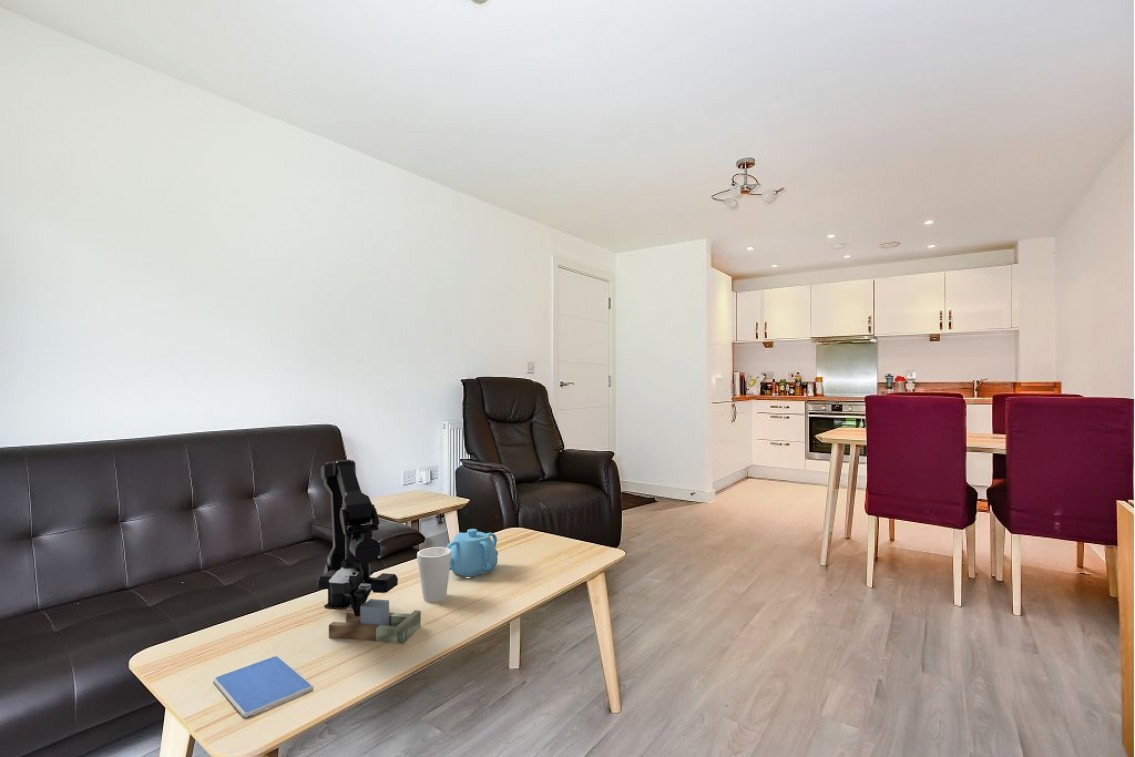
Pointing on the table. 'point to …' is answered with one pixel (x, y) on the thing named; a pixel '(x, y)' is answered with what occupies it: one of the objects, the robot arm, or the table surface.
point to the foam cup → (434, 572)
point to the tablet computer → (261, 685)
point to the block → (375, 612)
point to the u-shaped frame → (377, 628)
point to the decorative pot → (473, 553)
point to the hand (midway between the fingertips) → (357, 616)
